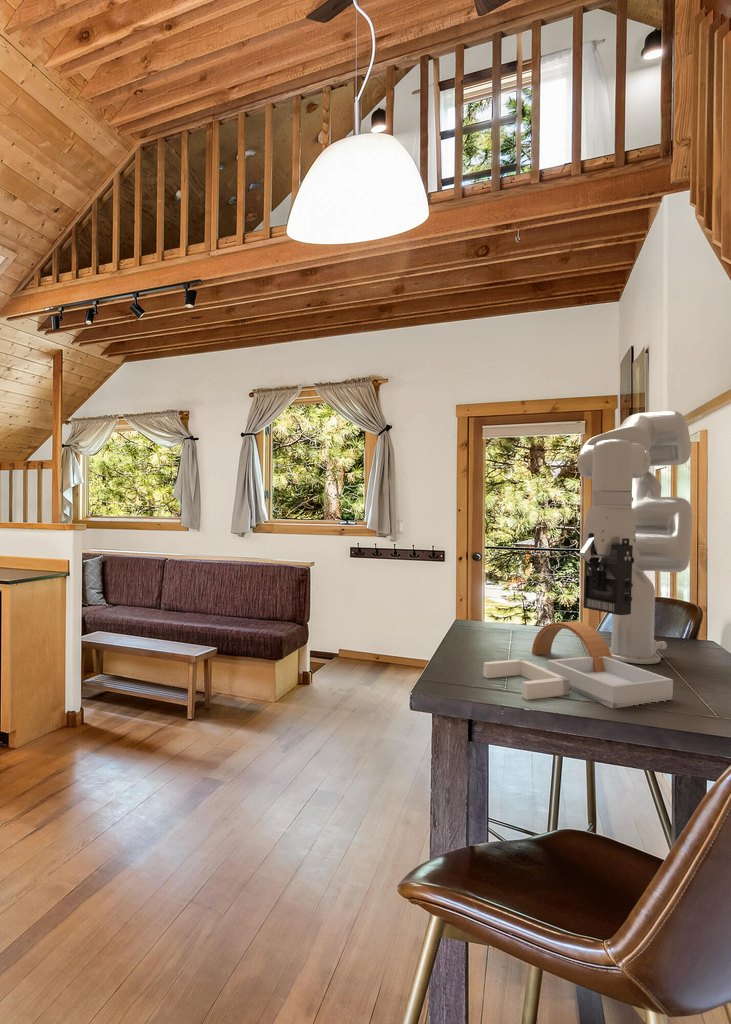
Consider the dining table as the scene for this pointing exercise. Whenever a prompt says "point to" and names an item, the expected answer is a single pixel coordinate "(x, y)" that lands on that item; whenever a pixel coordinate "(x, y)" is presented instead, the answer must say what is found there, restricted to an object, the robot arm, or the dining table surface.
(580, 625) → the arch
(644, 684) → the parts tray
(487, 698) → the dining table surface
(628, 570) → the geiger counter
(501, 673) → the cream piece
